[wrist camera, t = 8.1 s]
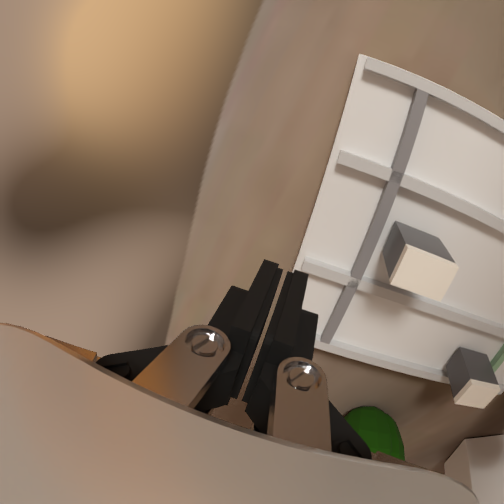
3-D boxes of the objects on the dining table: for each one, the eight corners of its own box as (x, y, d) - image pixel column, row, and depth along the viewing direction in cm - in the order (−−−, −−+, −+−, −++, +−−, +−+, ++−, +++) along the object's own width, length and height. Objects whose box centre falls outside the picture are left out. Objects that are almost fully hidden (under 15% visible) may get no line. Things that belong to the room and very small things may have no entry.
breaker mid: (395, 220, 20) (407, 247, 16) (439, 237, 20) (459, 268, 16) (382, 251, 21) (390, 284, 17) (425, 267, 21) (440, 301, 17)
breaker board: (357, 57, 18) (360, 51, 16) (599, 199, 15) (613, 207, 13) (275, 318, 28) (270, 335, 26) (496, 381, 25) (502, 396, 23)
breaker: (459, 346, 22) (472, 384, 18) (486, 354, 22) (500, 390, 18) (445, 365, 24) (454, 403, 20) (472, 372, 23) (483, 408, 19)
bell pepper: (385, 441, 32) (383, 510, 23) (323, 432, 34) (311, 503, 25) (415, 401, 28) (421, 480, 20) (344, 391, 30) (336, 474, 21)
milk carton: (443, 463, 32) (445, 575, 16) (464, 437, 29) (475, 563, 13) (481, 458, 31) (489, 563, 14) (503, 433, 28) (521, 548, 11)
